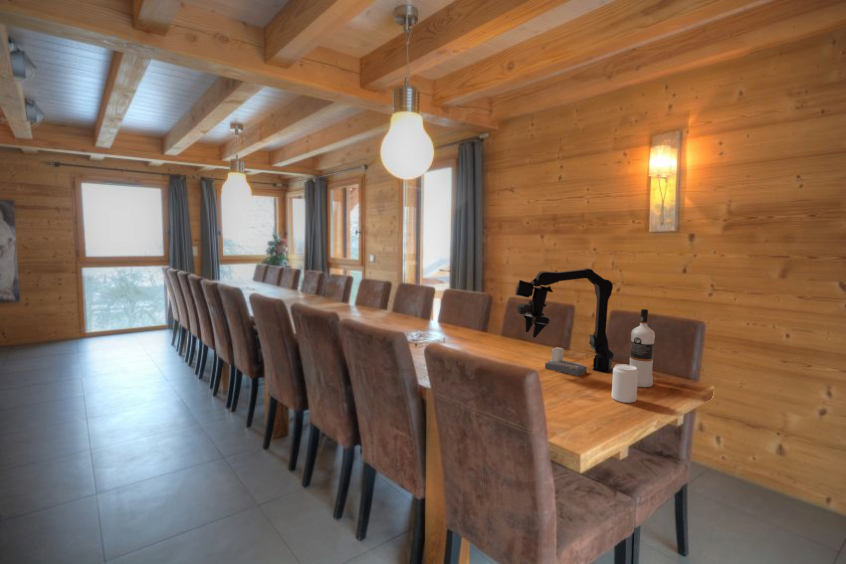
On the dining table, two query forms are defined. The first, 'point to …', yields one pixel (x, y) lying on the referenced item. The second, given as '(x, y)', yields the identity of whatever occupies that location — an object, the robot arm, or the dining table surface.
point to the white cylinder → (624, 383)
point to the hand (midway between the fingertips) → (530, 334)
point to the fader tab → (557, 354)
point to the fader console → (566, 367)
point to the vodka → (642, 351)
